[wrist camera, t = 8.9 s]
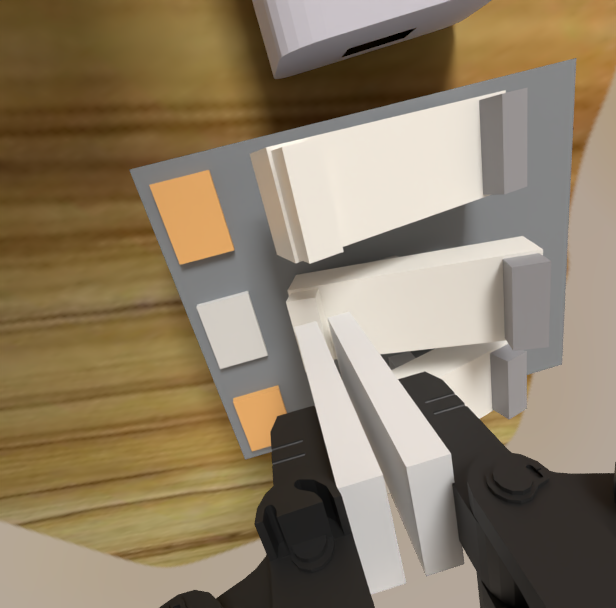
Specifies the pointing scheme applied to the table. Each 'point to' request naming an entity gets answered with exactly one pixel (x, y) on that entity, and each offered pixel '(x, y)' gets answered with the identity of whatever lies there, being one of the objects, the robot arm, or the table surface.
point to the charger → (345, 27)
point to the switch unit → (395, 243)
